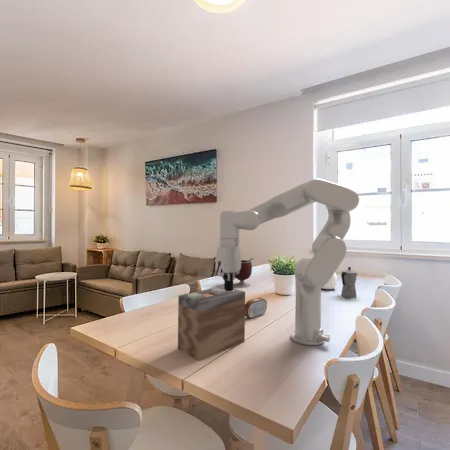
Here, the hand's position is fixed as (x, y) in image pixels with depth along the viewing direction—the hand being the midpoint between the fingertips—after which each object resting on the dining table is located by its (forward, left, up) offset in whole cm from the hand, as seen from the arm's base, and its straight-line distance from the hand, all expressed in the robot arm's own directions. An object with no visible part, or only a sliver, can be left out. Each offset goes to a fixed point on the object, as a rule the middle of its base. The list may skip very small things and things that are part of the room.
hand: (228, 290), depth 113 cm
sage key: (0, +16, -1) cm, 17 cm away
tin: (+10, -29, -19) cm, 36 cm away
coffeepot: (-4, -101, -19) cm, 103 cm away
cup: (+15, -111, -19) cm, 113 cm away
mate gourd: (+59, -74, -19) cm, 96 cm away
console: (0, +8, -19) cm, 21 cm away
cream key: (0, 0, -2) cm, 2 cm away
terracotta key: (0, +11, -2) cm, 11 cm away
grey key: (0, +5, -1) cm, 6 cm away
